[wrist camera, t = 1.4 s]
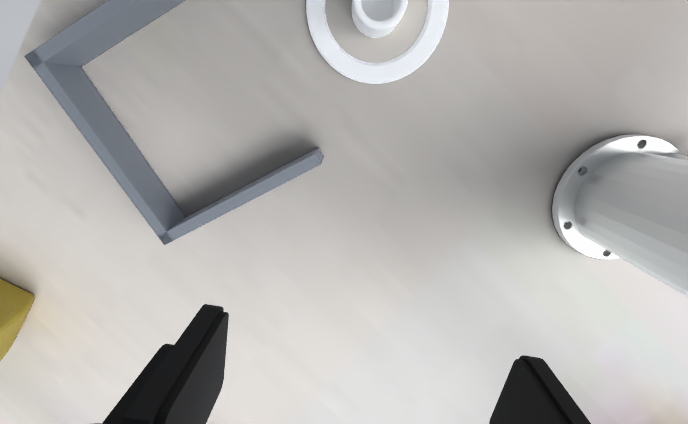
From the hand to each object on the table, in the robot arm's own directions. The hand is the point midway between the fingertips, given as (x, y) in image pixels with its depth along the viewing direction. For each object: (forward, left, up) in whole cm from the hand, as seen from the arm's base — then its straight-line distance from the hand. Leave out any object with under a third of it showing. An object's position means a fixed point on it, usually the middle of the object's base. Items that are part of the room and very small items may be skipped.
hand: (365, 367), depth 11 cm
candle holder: (-9, -13, -25) cm, 29 cm away
